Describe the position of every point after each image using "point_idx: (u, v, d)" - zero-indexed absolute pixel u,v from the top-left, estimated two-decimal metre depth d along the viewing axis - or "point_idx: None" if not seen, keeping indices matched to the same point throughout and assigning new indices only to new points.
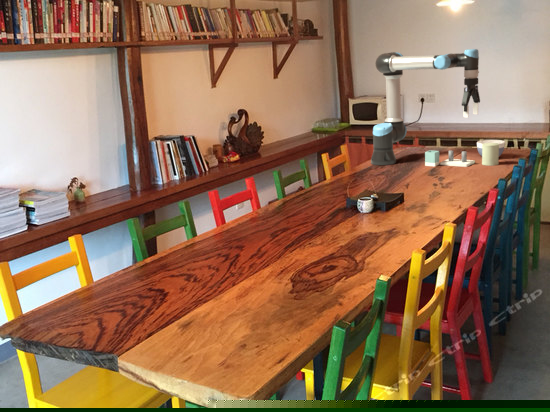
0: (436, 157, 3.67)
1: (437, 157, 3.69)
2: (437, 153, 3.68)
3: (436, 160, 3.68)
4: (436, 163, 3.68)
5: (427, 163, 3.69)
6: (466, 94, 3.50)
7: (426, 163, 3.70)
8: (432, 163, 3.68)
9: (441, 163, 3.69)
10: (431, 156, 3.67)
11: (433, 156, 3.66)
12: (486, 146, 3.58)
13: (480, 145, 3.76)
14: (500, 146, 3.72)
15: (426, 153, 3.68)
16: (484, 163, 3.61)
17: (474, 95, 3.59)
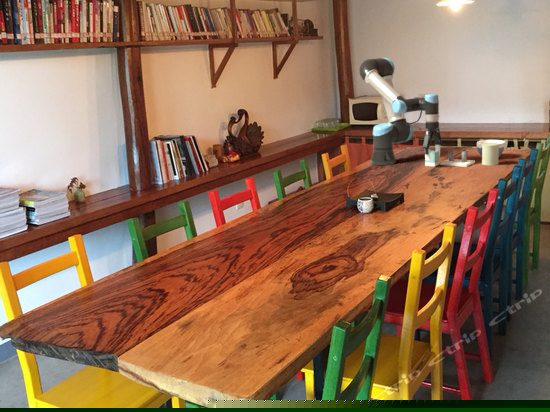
0: (436, 157, 3.67)
1: (437, 157, 3.69)
2: (437, 153, 3.68)
3: (436, 160, 3.68)
4: (436, 163, 3.68)
5: (427, 163, 3.69)
6: (427, 138, 3.61)
7: (426, 163, 3.70)
8: (432, 163, 3.68)
9: (441, 163, 3.69)
10: (431, 156, 3.67)
11: (433, 156, 3.66)
12: (486, 146, 3.58)
13: (480, 145, 3.76)
14: (500, 146, 3.72)
15: None
16: (484, 163, 3.61)
17: (436, 138, 3.69)
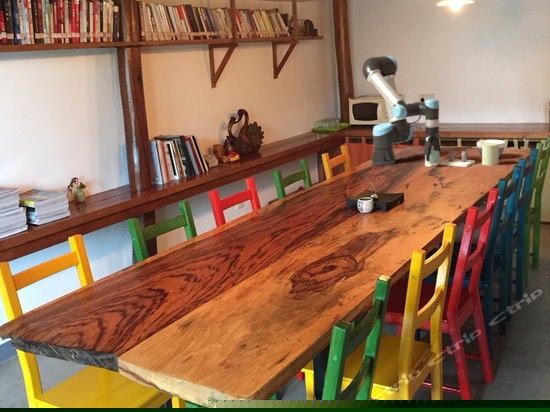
0: (436, 157, 3.67)
1: (437, 157, 3.69)
2: (437, 153, 3.68)
3: (436, 160, 3.68)
4: (436, 163, 3.68)
5: None
6: (427, 144, 3.62)
7: None
8: (432, 163, 3.68)
9: (441, 163, 3.69)
10: (431, 156, 3.67)
11: (433, 156, 3.66)
12: (486, 146, 3.58)
13: (480, 145, 3.76)
14: (500, 146, 3.72)
15: None
16: (484, 163, 3.61)
17: (435, 144, 3.70)
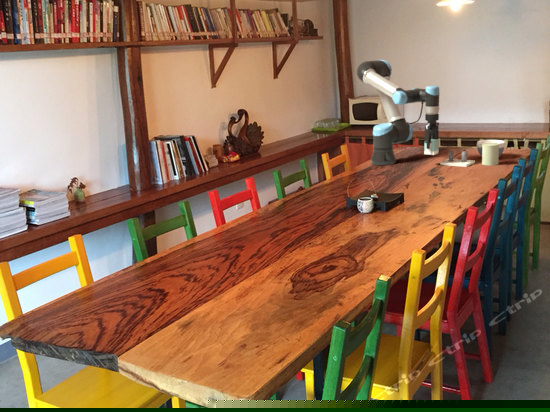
0: (435, 146, 3.66)
1: (436, 146, 3.67)
2: (436, 142, 3.67)
3: (436, 149, 3.67)
4: (435, 152, 3.67)
5: None
6: (427, 132, 3.61)
7: (425, 151, 3.69)
8: (431, 152, 3.67)
9: (441, 163, 3.69)
10: None
11: (432, 145, 3.65)
12: (486, 146, 3.58)
13: (480, 145, 3.76)
14: (500, 146, 3.72)
15: None
16: (484, 163, 3.61)
17: (434, 131, 3.68)
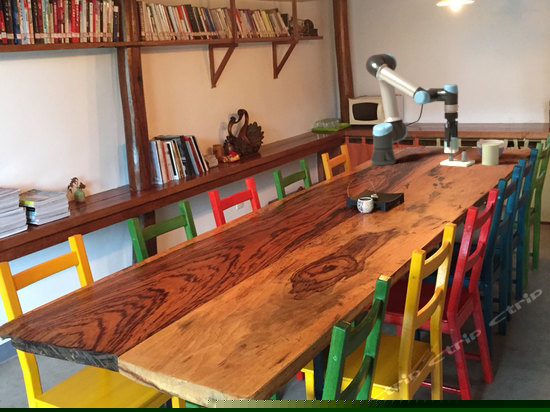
0: (455, 144, 3.67)
1: (456, 144, 3.68)
2: (456, 140, 3.67)
3: (456, 147, 3.67)
4: (455, 150, 3.67)
5: None
6: (447, 131, 3.62)
7: (445, 150, 3.69)
8: (451, 150, 3.67)
9: (441, 163, 3.69)
10: None
11: (452, 143, 3.65)
12: (486, 146, 3.58)
13: (480, 145, 3.76)
14: (500, 146, 3.72)
15: None
16: (484, 163, 3.61)
17: (453, 130, 3.68)
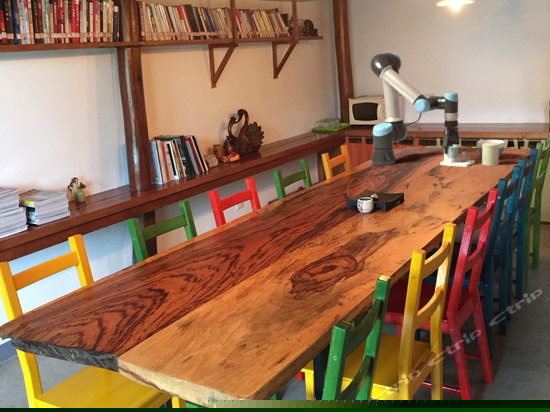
0: (455, 153, 3.68)
1: (456, 153, 3.69)
2: (456, 149, 3.68)
3: (455, 156, 3.69)
4: (455, 159, 3.69)
5: (446, 159, 3.70)
6: (446, 137, 3.62)
7: (445, 159, 3.70)
8: (451, 159, 3.68)
9: (441, 163, 3.69)
10: (450, 152, 3.67)
11: (452, 152, 3.67)
12: (486, 146, 3.58)
13: (480, 145, 3.76)
14: (500, 146, 3.72)
15: None
16: (484, 163, 3.61)
17: (454, 137, 3.70)
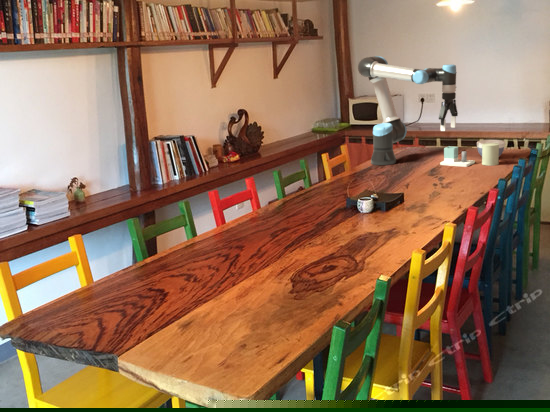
0: (455, 153, 3.68)
1: (456, 153, 3.69)
2: (456, 149, 3.68)
3: (455, 156, 3.69)
4: (455, 159, 3.69)
5: (446, 159, 3.70)
6: (443, 108, 3.60)
7: (445, 159, 3.70)
8: (451, 159, 3.68)
9: (441, 163, 3.69)
10: (450, 152, 3.67)
11: (452, 152, 3.67)
12: (486, 146, 3.58)
13: (480, 145, 3.76)
14: (500, 146, 3.72)
15: (445, 149, 3.69)
16: (484, 163, 3.61)
17: (452, 109, 3.69)
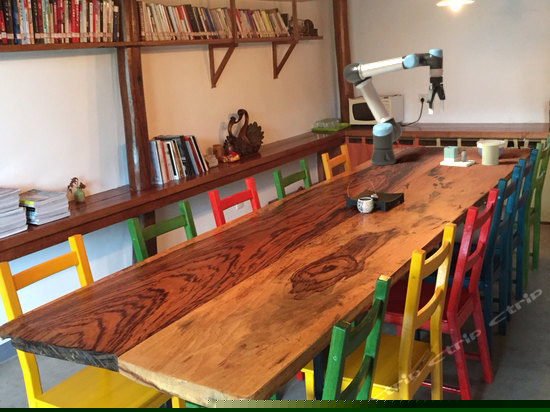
0: (455, 153, 3.68)
1: (456, 153, 3.69)
2: (456, 149, 3.68)
3: (455, 156, 3.69)
4: (455, 159, 3.69)
5: (446, 159, 3.70)
6: (431, 92, 3.67)
7: (445, 159, 3.70)
8: (451, 159, 3.68)
9: (441, 163, 3.69)
10: (450, 152, 3.67)
11: (452, 152, 3.67)
12: (486, 146, 3.58)
13: (480, 145, 3.76)
14: (500, 146, 3.72)
15: (445, 149, 3.69)
16: (484, 163, 3.61)
17: (439, 93, 3.76)
